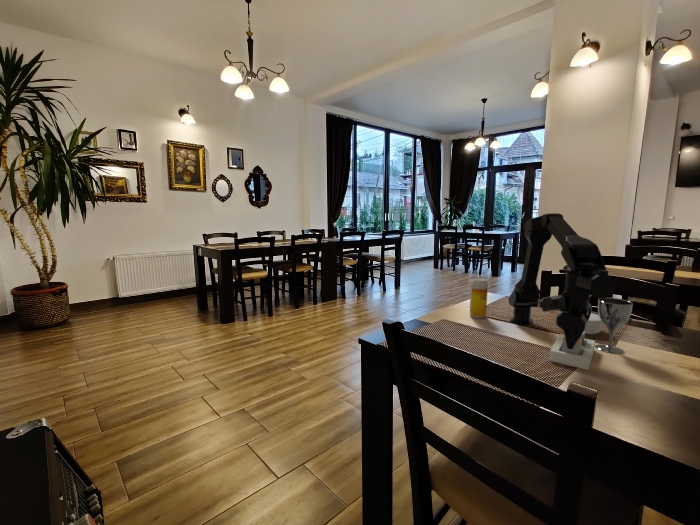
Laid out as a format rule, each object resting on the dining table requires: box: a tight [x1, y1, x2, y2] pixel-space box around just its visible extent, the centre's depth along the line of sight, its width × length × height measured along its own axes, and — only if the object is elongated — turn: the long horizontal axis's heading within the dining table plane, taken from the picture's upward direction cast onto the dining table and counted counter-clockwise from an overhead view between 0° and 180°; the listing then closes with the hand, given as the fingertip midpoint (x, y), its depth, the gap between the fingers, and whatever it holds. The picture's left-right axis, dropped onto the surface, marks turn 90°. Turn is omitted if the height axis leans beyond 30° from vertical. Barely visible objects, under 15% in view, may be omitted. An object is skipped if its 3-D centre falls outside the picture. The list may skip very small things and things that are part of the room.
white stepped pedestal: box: [549, 331, 596, 371], centre depth 96 cm, size 16×9×6 cm, turn 140°
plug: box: [562, 334, 582, 355], centre depth 93 cm, size 4×4×6 cm
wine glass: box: [594, 297, 634, 355], centre depth 100 cm, size 8×8×15 cm
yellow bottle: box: [469, 277, 489, 319], centre depth 132 cm, size 6×6×15 cm
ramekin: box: [584, 312, 604, 335], centre depth 117 cm, size 11×11×5 cm
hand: (572, 343), depth 93 cm, fingers open, 9 cm apart
